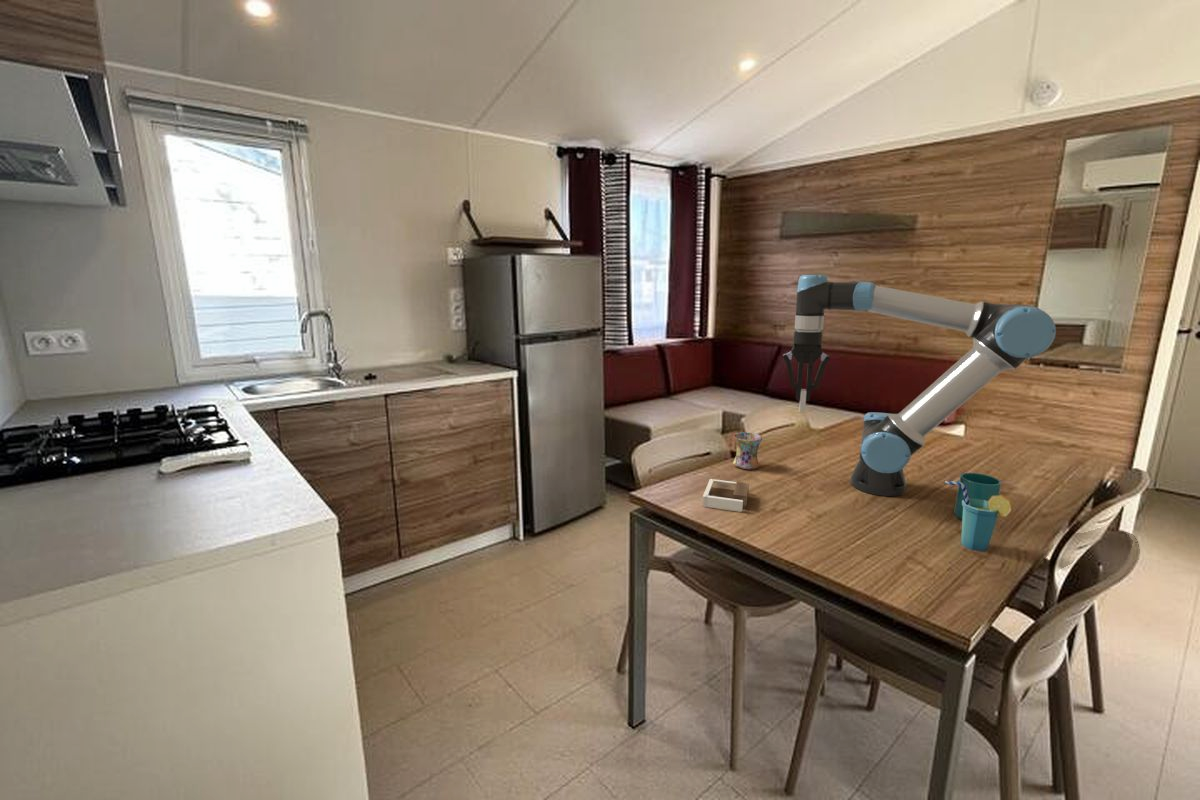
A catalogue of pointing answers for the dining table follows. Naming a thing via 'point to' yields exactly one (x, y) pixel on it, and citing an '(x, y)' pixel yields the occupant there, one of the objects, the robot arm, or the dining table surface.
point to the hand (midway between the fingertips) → (801, 411)
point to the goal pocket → (721, 498)
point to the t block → (731, 491)
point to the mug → (747, 450)
